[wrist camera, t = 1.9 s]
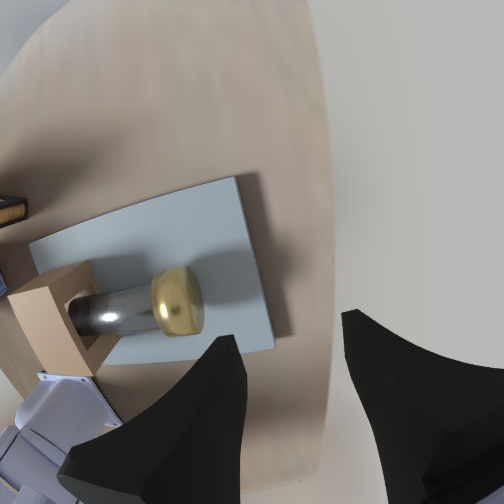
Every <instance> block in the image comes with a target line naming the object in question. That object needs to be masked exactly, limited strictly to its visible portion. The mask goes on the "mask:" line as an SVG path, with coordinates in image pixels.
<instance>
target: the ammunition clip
mask: <svg viewBox="0 0 504 504" xmlns="http://www.w3.org/2000/svg"><path fill="white" fill-rule="evenodd" d="M26 219H27V199H26V198H20V197H13V196H6V195H0V229H1V228H3V227H6V226H9V225H12V224H15V223H18V222H21V221H23V220H26Z"/></svg>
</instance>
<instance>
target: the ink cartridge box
mask: <svg viewBox="0 0 504 504" xmlns="http://www.w3.org/2000/svg"><path fill="white" fill-rule="evenodd" d="M6 291H7V286H6V284H5V282H4V279H3V277H2V275H1V273H0V296H2V295H3V294H4V293H5V292H6Z"/></svg>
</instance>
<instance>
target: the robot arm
mask: <svg viewBox="0 0 504 504" xmlns="http://www.w3.org/2000/svg"><path fill="white" fill-rule="evenodd" d="M341 315H342V326H343V338H344V351H345V359H346V362H347V365H348V369H349V372H350V376H351V379H352V381H353V384H354V386H355V389H356V391H357V393H358V395H359V398H360V400H361V403H362V405H363V407H364V410H365V412H366V415H367V417H368V419H369V422H370V424H371V427H372V430H373V433H374V437H375V441H376V444H377V449H378V452H379V457H380V461H381V466H382V470H383V475H384V480H385V486H386V491H387V497H388V504H504V369H499V368H490V367H484V366H478V365H473V364H468V363H464V362H460V361H457V360H453V359H450V358H446V357H444V356H440V355H438V354H435V353H433V352H430V351H428V350H426V349H423V348H421V347H419V346H417V345H414V344H413V343H411V342H409V341H407V340H405V339H403V338H401V337H400V336H398V335H396V334H394V333H393V332H391V331H389V330H388V329H386V328H385V327H383V326H382V325H380V324H379V323H377V322H376V321H374V320H373V319H371V318H370V317H369V316H367V315H365V314H364V313H362V312H361V311H360V310H358V309H355V310H351V311H347V312H343V313H341ZM38 377H39V378H40V380H41V381H40V382H39V383H38V384H37V386H36V387H35V388H34V389H33V391H32V392H31V393H30V394H29V395H28V397H27V398H26V399H25V400H24V402H23V403H22V404H21V405H20V407H19V408H18V410H17V413H16V418H15V423H16V425H13V426H12V425H8V426H7V427H6V428H5V430H4V431H3V432H2V434H1V435H0V477H1V478H2V479H4V480H5V481H6V482H7V483H8V484H10V485H11V486H12V487H13V488H14V489H16V490H17V491H18V492H19V493H18V495H15V494H14V493H13V492H12V491H10V490H9V489H8V488H7V487H5V486H4V485H3V484H2V482H1V481H0V504H240V452H241V442H242V435H243V428H244V420H245V413H246V405H247V373H246V370H245V367H244V364H243V361H242V358H241V355H240V352H239V349H238V346H237V343H236V340H235V337H234V334H231V335H224V336H218V337H217V338H216V339H215V340H214V341H213V342H212V344H211V345H210V346H209V347H208V349H207V350H206V351H205V352H204V354H203V355H202V356H201V357H200V358H199V360H198V361H197V362H196V363H195V364H194V365H193V367H192V368H191V369H190V370H189V371H188V372H187V373H186V374H185V375H184V376H183V377H182V378H181V379H180V380H179V382H178V383H177V384H176V385H175V386H174V387H173V388H172V389H171V390H169V391H168V392H167V393H166V394H165V395H164V396H163V397H161V398H160V399H159V400H158V401H157V402H155V403H154V404H153V405H152V406H150V407H149V408H148V409H146V410H145V411H143V412H142V413H140V414H139V415H137V416H136V417H134V418H133V419H131V420H130V421H128V422H126V423H125V424H123V423H122V422H121V421H120V419H119V418H118V417H117V415H116V414H115V413H114V411H113V410H112V408H111V407H110V406H109V404H108V403H107V401H106V400H105V398H104V397H103V396H102V394H101V393H100V391H99V390H98V388H97V386H96V385H95V383H94V382H93V380H92V379H91V377H90V376H72V375H57V374H48V373H46V372H39V373H38ZM104 425H105V426H112V427H118V428H116V429H114V430H112V431H110V432H108V433H106V434H104V435H101V436H99V435H100V433H101V431H102V429H103V427H104Z"/></svg>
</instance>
